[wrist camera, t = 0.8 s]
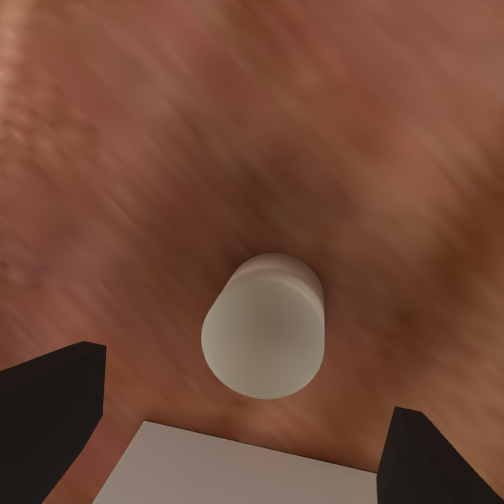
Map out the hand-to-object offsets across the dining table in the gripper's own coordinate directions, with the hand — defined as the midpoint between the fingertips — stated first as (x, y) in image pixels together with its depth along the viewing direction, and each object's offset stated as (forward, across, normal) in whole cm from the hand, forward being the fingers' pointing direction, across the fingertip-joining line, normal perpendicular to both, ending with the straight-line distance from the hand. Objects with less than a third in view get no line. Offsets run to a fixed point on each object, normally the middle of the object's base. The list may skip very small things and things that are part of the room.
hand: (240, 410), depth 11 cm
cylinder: (+8, 0, 0) cm, 8 cm away
